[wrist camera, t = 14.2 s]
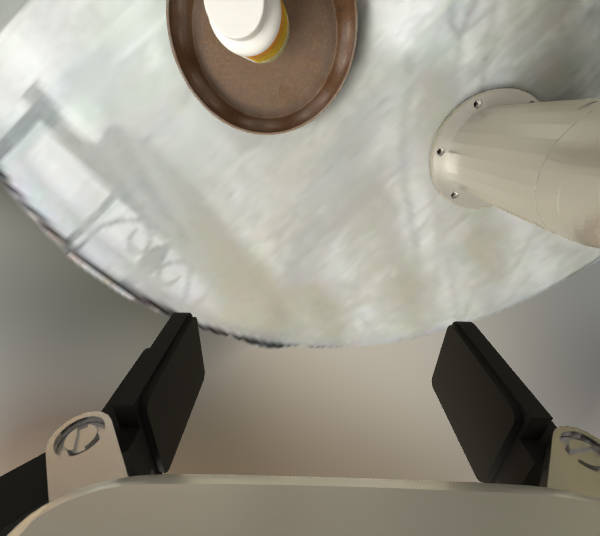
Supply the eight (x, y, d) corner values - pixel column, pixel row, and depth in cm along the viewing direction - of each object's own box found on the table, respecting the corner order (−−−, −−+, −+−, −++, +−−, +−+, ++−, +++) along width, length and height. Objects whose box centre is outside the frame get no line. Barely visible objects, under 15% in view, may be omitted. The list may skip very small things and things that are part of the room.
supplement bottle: (297, 1, 26) (285, -42, 18) (281, 72, 29) (265, 62, 21) (237, -21, 26) (196, -75, 18) (227, 53, 29) (187, 35, 20)
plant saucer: (273, -146, 25) (270, -179, 22) (386, 54, 31) (395, 47, 28) (141, 23, 30) (125, 13, 27) (260, 166, 36) (256, 170, 33)
